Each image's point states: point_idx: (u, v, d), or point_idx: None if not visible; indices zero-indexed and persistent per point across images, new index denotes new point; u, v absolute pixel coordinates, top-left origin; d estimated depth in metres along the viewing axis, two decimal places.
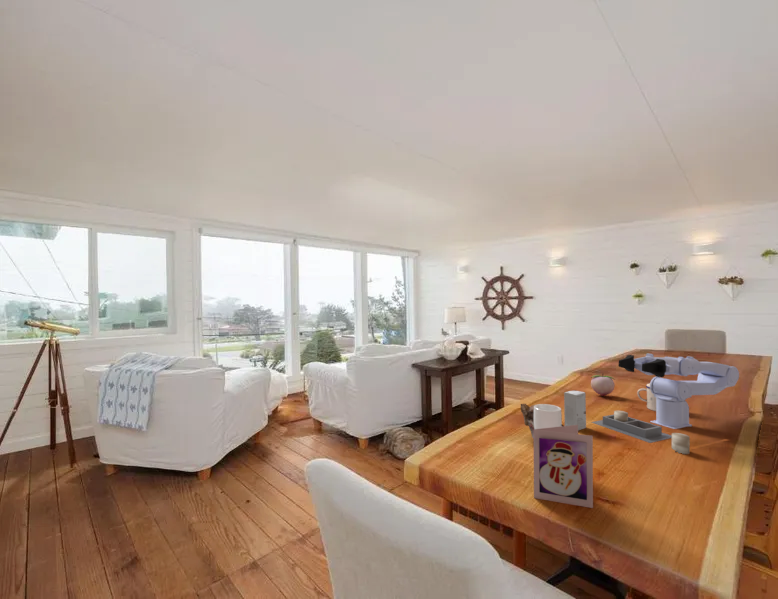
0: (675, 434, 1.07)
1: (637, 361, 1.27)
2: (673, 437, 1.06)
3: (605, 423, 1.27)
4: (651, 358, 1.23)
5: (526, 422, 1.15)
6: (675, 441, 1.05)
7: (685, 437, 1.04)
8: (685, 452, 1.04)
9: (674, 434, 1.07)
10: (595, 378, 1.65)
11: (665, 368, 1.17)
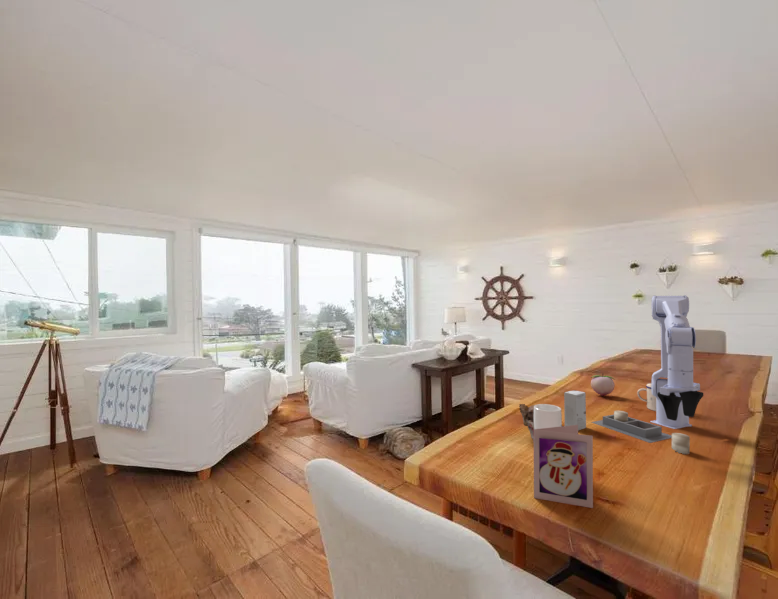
0: (675, 434, 1.07)
1: None
2: (673, 437, 1.06)
3: (605, 423, 1.27)
4: None
5: (525, 422, 1.15)
6: (675, 441, 1.05)
7: (685, 437, 1.04)
8: (685, 452, 1.04)
9: (674, 434, 1.07)
10: (595, 378, 1.65)
11: None
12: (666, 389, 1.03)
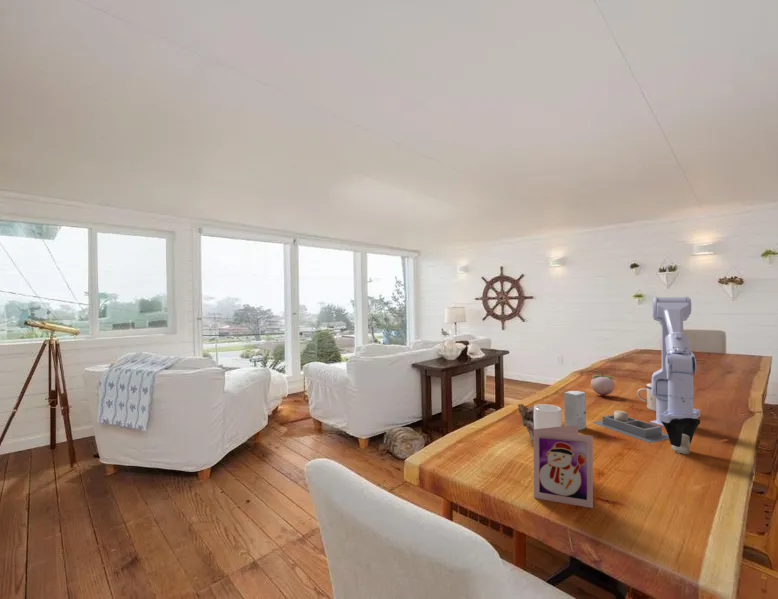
0: None
1: None
2: None
3: (605, 423, 1.27)
4: None
5: (524, 423, 1.14)
6: None
7: (685, 437, 1.04)
8: (685, 452, 1.04)
9: None
10: (595, 378, 1.65)
11: None
12: (666, 416, 1.03)
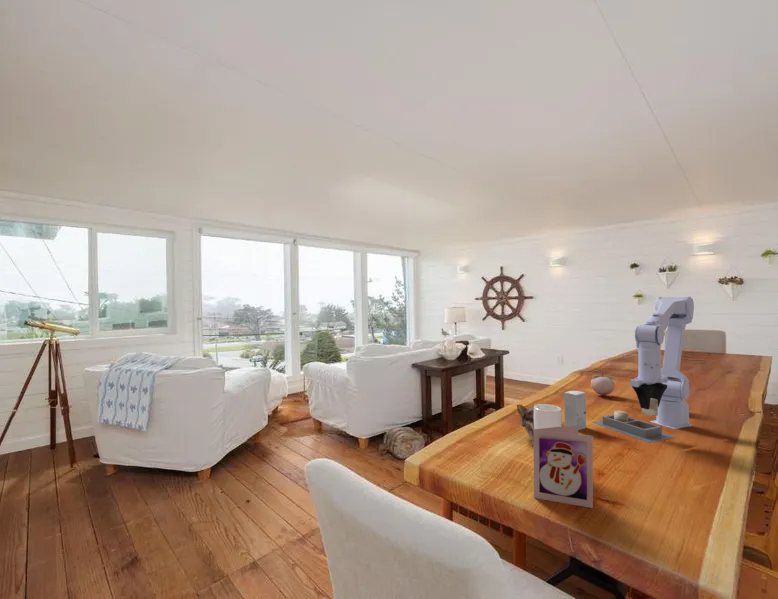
0: None
1: None
2: None
3: (605, 423, 1.27)
4: None
5: (523, 423, 1.14)
6: None
7: (653, 400, 1.15)
8: (653, 414, 1.14)
9: None
10: (595, 378, 1.65)
11: None
12: (636, 381, 1.13)
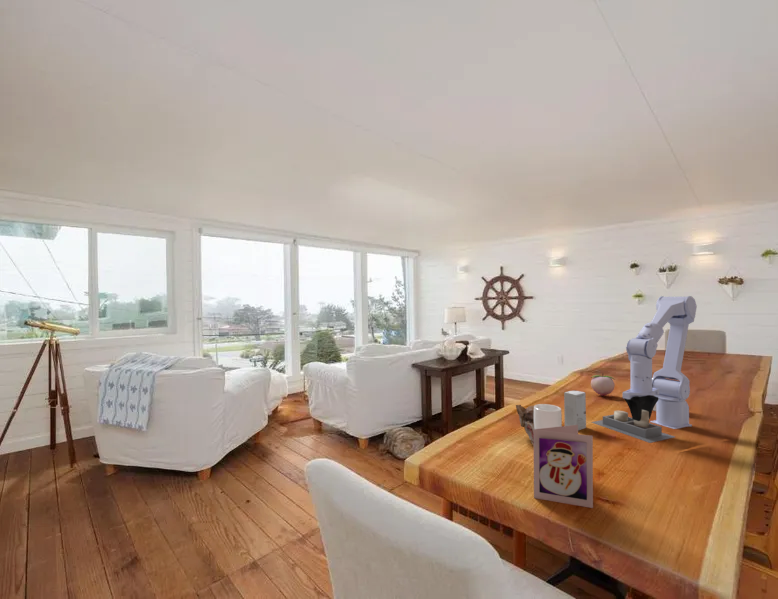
0: None
1: None
2: None
3: (605, 423, 1.27)
4: None
5: (522, 423, 1.14)
6: None
7: (645, 412, 1.18)
8: (644, 425, 1.17)
9: None
10: (595, 378, 1.65)
11: None
12: (627, 394, 1.16)
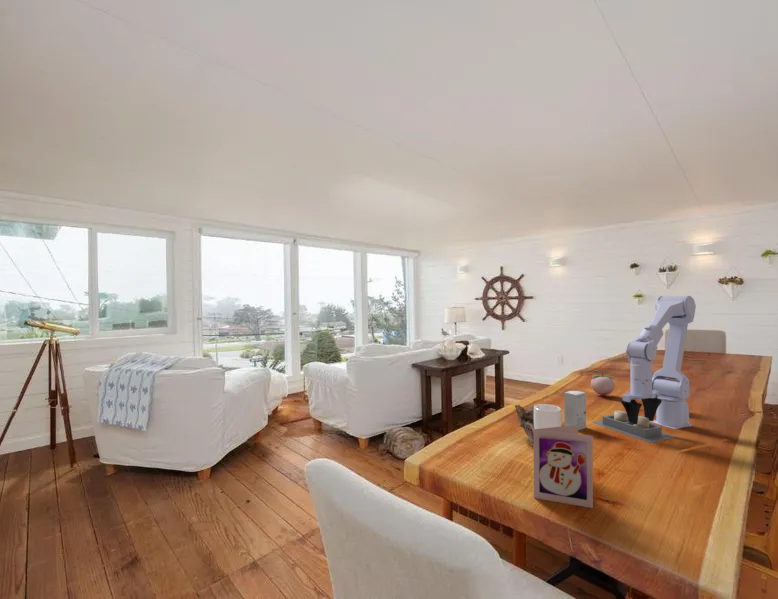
0: None
1: None
2: None
3: (605, 423, 1.27)
4: None
5: (522, 424, 1.13)
6: None
7: (645, 419, 1.18)
8: None
9: None
10: (595, 378, 1.65)
11: None
12: (627, 396, 1.16)
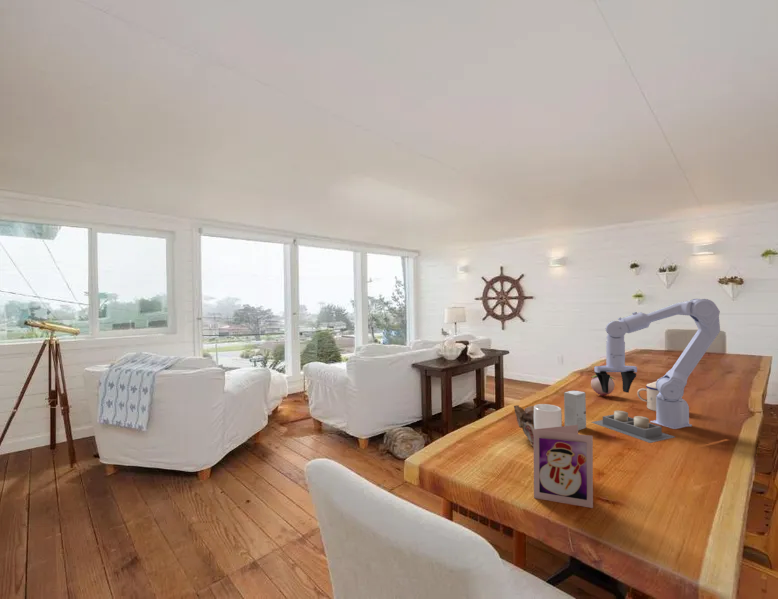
0: (637, 417, 1.20)
1: None
2: (635, 419, 1.19)
3: (605, 423, 1.27)
4: None
5: (521, 424, 1.13)
6: (636, 423, 1.18)
7: (645, 419, 1.18)
8: None
9: (636, 417, 1.20)
10: (595, 378, 1.65)
11: None
12: (596, 368, 1.34)
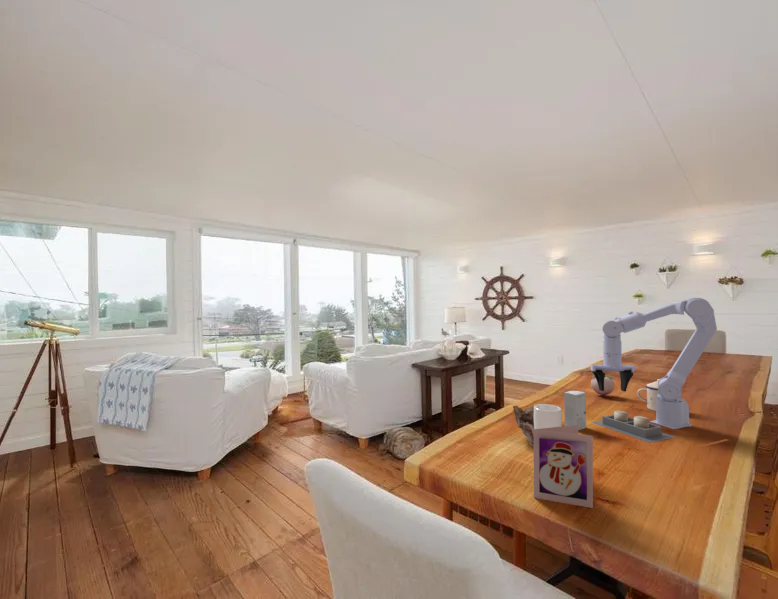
0: (637, 417, 1.20)
1: None
2: (635, 419, 1.19)
3: (605, 423, 1.27)
4: None
5: (520, 424, 1.13)
6: (636, 423, 1.18)
7: (645, 419, 1.18)
8: None
9: (636, 417, 1.20)
10: (595, 378, 1.65)
11: None
12: (592, 366, 1.37)
